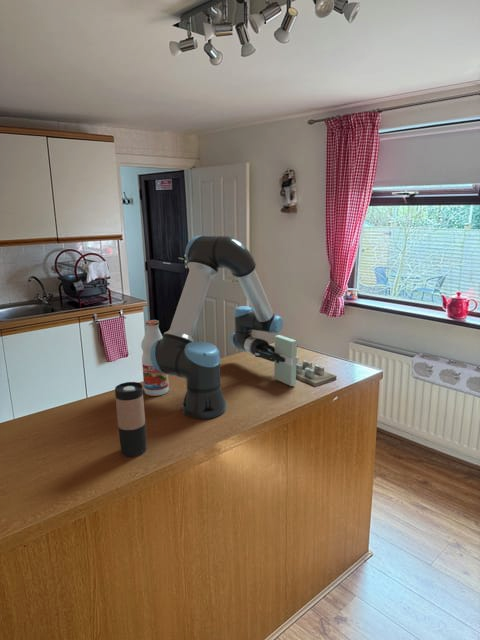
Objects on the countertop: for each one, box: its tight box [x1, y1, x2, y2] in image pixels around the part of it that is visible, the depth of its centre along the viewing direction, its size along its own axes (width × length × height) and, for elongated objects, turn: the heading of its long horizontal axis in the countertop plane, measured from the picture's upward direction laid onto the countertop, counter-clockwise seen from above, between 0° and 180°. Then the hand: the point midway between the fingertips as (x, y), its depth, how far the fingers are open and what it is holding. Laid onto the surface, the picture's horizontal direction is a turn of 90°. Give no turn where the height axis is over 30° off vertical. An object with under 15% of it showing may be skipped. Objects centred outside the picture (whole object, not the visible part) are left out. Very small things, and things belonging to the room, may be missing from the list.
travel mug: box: [114, 381, 147, 458], centre depth 125 cm, size 8×8×20 cm
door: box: [273, 334, 299, 387], centre depth 173 cm, size 11×4×18 cm, turn 36°
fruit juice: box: [140, 319, 170, 397], centre depth 165 cm, size 9×9×28 cm
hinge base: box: [296, 360, 337, 387], centre depth 181 cm, size 20×12×4 cm, turn 36°
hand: (294, 361), depth 167 cm, fingers closed on door, 2 cm apart
